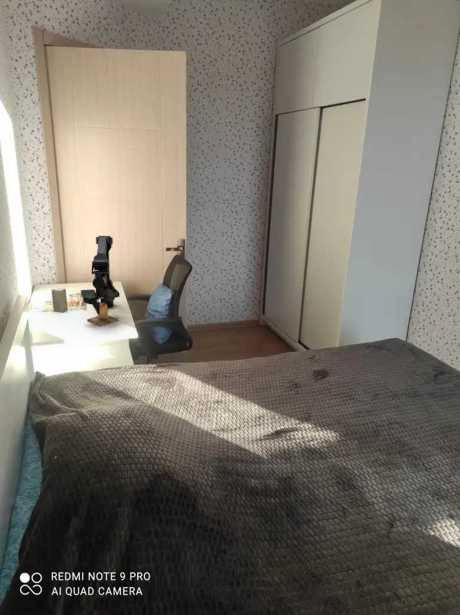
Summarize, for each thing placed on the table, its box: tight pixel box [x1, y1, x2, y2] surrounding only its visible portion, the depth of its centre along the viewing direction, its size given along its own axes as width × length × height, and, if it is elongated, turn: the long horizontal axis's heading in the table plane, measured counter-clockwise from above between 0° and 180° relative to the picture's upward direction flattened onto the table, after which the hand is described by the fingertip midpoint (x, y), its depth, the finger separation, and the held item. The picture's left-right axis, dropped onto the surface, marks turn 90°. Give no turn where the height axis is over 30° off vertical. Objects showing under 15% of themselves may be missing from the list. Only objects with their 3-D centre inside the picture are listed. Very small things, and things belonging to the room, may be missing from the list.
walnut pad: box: [86, 314, 119, 327], centre depth 235 cm, size 11×11×1 cm
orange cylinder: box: [97, 302, 109, 317], centre depth 233 cm, size 5×5×6 cm
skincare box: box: [51, 287, 68, 313], centre depth 245 cm, size 6×4×12 cm
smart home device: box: [80, 289, 96, 299], centre depth 274 cm, size 8×2×20 cm
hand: (102, 312), depth 234 cm, fingers closed on orange cylinder, 5 cm apart
